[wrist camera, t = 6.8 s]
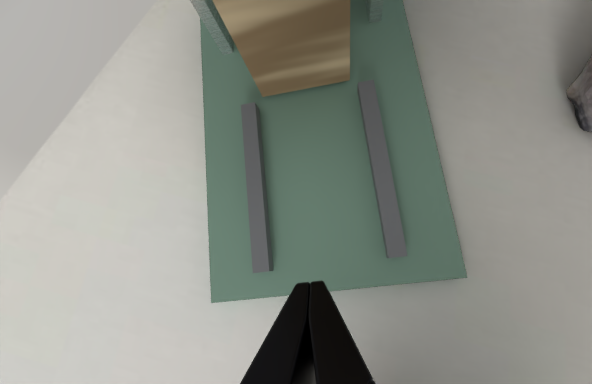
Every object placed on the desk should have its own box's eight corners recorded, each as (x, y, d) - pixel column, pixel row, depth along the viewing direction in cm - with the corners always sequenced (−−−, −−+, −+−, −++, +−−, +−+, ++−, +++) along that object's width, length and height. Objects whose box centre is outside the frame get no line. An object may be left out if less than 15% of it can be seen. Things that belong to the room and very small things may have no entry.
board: (461, 276, 18) (474, 278, 16) (217, 301, 20) (203, 305, 18) (387, -44, 24) (390, -72, 22) (204, 0, 26) (193, -21, 24)
